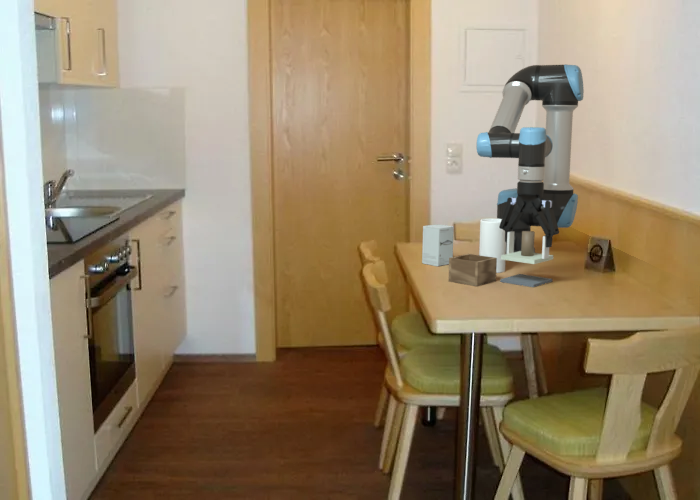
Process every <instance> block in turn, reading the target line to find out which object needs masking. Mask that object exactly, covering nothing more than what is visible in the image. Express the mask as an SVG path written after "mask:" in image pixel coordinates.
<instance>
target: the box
mask: <svg viewBox="0 0 700 500" xmlns="http://www.w3.org/2000/svg"><path fill="white" fill-rule="evenodd" d="M496 266H497V258H494V257H487V256H480V255H479V254H474V253H473V254H472V253H465V254H461V255H457V256H453V257H452V258H449V264H448V282H449V283H457V284H463V285H467V286H472V287H481V286H484V285H488V284H490V283H494V282H496V281H497V273H496Z"/></svg>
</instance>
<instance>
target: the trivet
mask: <svg viewBox="0 0 700 500" xmlns="http://www.w3.org/2000/svg"><path fill="white" fill-rule="evenodd" d="M499 282H500V283H503V284H504V283H505V284H510V285H517V286H522V285H523V287H529V288H537V287H538V286H539V285H540V286H543V285H546V284H549V283H552V282H553V278H549V277H543V276H535V275H530V274H525V273H524V274H523V273H518V274H515V275H511V276H506V277H504V278H500V281H499ZM545 283H546V284H545ZM542 284H543V285H542Z"/></svg>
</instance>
